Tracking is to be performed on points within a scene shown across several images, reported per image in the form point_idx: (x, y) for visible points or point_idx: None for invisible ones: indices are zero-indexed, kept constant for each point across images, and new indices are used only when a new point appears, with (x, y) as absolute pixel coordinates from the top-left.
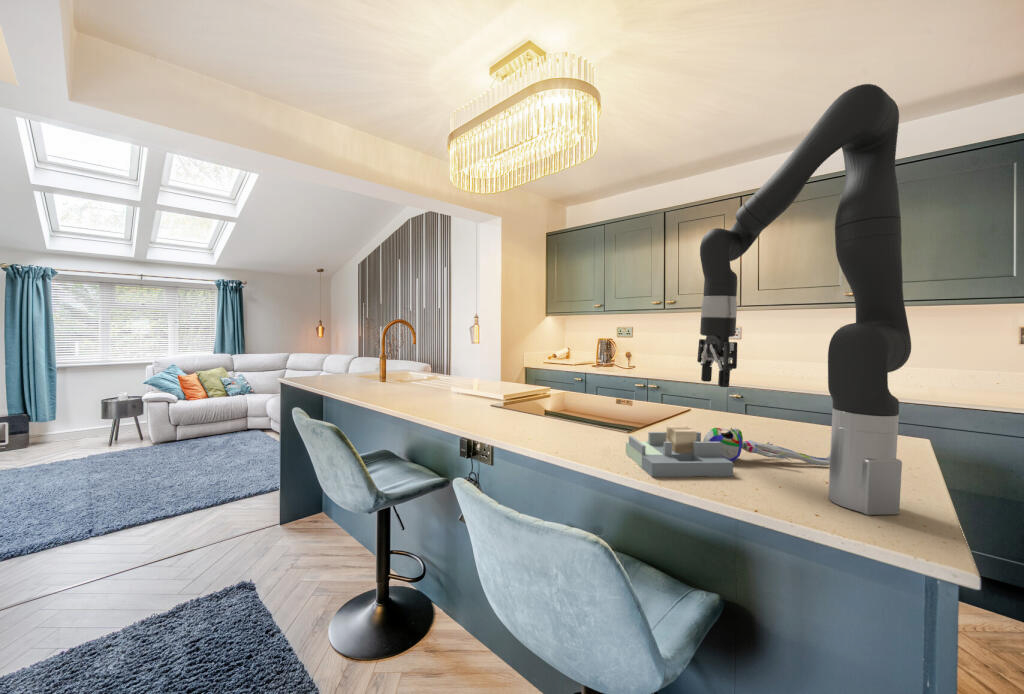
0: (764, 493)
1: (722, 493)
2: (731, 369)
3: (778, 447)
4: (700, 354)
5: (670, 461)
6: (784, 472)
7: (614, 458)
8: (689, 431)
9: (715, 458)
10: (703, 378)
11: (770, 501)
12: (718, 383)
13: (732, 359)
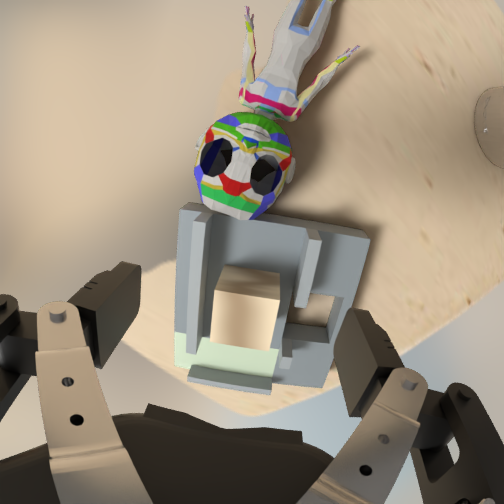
0: (441, 239)
1: (416, 307)
2: (433, 391)
3: (307, 35)
4: (6, 405)
5: (324, 358)
6: (364, 90)
7: None
8: (275, 318)
9: (333, 258)
10: (132, 315)
11: (462, 256)
12: (337, 360)
13: (461, 443)
